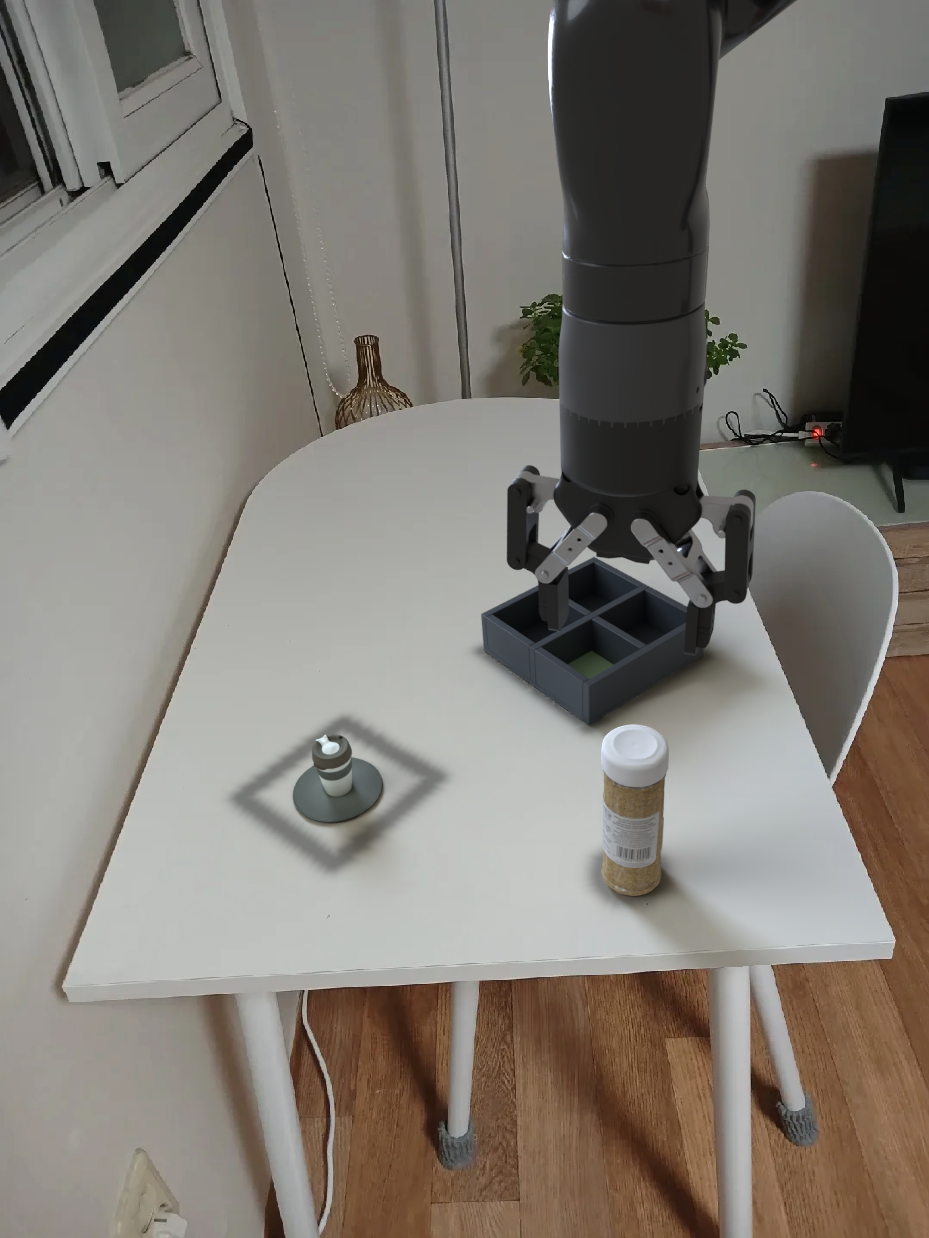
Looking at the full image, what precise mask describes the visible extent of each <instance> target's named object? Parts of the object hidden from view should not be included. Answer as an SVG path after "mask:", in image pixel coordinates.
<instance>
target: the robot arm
mask: <svg viewBox="0 0 929 1238" xmlns="http://www.w3.org/2000/svg"><path fill="white" fill-rule="evenodd" d="M797 1H798V0H552V3H551V7H550V11H549V12H550V13H549V21H548V33H547V71H548V72H547V73H548V74H547V75H548V89H549V90H548V91H549V102H550V112H551V120H552V121H551V123H552V129H553V130H552V131H553V136H554V145H555V153H556V163H557V168H558V174H559V175H558V176H559V180H560V181H559V182H560V187H561V192H562V202H563V203H562V205H563V211H562V226H561V227H562V229H561V275H562V276H561V278H562V279H561V282H562V283H561V285H562V286H561V287H562V288H561V289H562V313H561V314H562V315H561V326H560V333H559V342H558V390H559V391H558V392H559V393H558V396H559V397H558V398H559V401H558V402H559V439H560V441H559V442H560V443H559V447H560V448H559V449H560V452H559V453H560V471H561V473H560V477H559V478H557V477H551V476H544V475H541V473H540V471H539V468H537V467H536V466H534V465H529V464H528V465H525V466H523V467H522V468H521V469H520V471H519V472H518V474H517V475H516V476H515V478H514V479H513V480H512V481H511V483H510V484H509V486H508V487H507V488H506V489H507V492H506V563H507V565H508V566H509V567H510V568H511V570H515V571H521V570H523V569H524V570H526V571H528V572H530V573H531V574H533V575H534V576H535V578H536V580H537V585H538V594H539V614H540V616H541V618H542V620H543V621H548V629H549V630H553V631H559V632H560V631H561V629H562V627H563V625H564V624H565V622H566V620H567V617H568V613H569V589H568V570H569V566H570V565H571V564H572V563H573V562H574V561H575V560H576V559H577V558H578V557H579V556H580V555H581V554H582V553H583V552H584V550H586V548H587V549H589V550H590V551H591V552H593V553H595V556H596V557H595V558H600V559H601V558H602V559H619V558H620V559H621V558H622V559H626V560H628V561H631V562H633V563H638V564H644V565H650V562H651V561H656V563H657V564H658V566H660V568H661V569H662V571H663V572H664V573H665V574H666V576H667V577H668V579H669V580H670V581H671V582H676V583H677V584H678V585H679V586H680V588H681V589H682V590H683V592H684V593H685V594H686V595H687V597H688V599H689V600H688V603H687V605H686V606H687V614H686V628H685V642H684V654H689V655H694V656H696V654H697V651H698V648H704V649H706V648H707V647H708V645H709V643H710V641H711V639H712V636H713V632H714V628H715V620H716V619H715V617H716V607H717V604H718V603H720V602H726V601H727V602H729V603H730V604H734V605H738V604H742V603H744V601H745V600H746V598H747V595H748V588H749V585H750V582H751V581H752V578H753V573H754V553H755V551H754V550H755V549H754V548H755V527H756V506H757V505H756V504H757V503H756V502H757V499H756V498H757V497H756V495H755V494H754V492H752V491H751V490H749V489H739V490H737V491H736V492H735V493H734V495H733V496H732V497H731V496H721V495H720V496H718V495H705V493H704V491H703V490H702V487H701V485H700V482H699V463H700V449H701V438H702V437H701V436H702V423H703V408H704V395H705V387H706V385H707V382H708V365H707V355H708V354H707V352H708V350H707V349H708V340H707V339H708V338H707V327H706V325H707V324H706V296H707V295H706V293H707V280H708V278H707V277H708V267H709V266H708V265H709V251H710V225H711V224H710V200H709V199H710V198H709V194H708V193H709V192H708V189H707V187H706V185H707V184H706V183H707V182H706V181H707V174H708V166H709V157H710V149H711V139H712V129H713V122H714V121H713V120H714V111H715V110H714V109H715V101H716V90H717V82H718V81H717V80H718V73H719V72H718V71H719V61H720V60H722V59H723V58H724V57H725V56H726V55H727V54H729V53H730V52H731V51H733V50H734V49H735V48H736V47H737V46H739V45H741V44H742V43H743V42H744V41H746V40H747V39H748V38H750V37H751V36H752V35H754V34H755V33H756V32H758V31H759V30H760V29H762V28H763V27H764V26H765V25H767V24H768V23H769V22H770V21H772V20H774V19H775V18H776V17H778V16H779V15H780V14H781V13H782V12H784V11H785V10H786V9H788V8H789V7H790V6H792V5H793V4H795V2H797ZM550 500H553V501H554V504H555V506H556V508H557V509H558V511H559V512H560V513H561V514H562V516H563V517H564V519H565V520H566V521H567V523H568V524H569V526H568V527H567V528H566V529H565V530H564V532H563V533H562V534H561V535H560V536H559V538H557V539H556V541H555V542H554V543H553V544H552V545H551V546H550V547H548V546H546V545H544V544H541V543H539V526H540V513H541V512H543V510H544V508H545V507H546V505H547V504H548V502H549V501H550ZM701 519H704V520H708V521H709V522H710V524H711V526H712V531H713V533H714V534H715V535H716V536H717V537H718V538H719V539H724V569H723V570H717V568H716V567H715V566H714V565H713V563H712V562H711V561H710V559H709V558H708V556H707V555H706V554H705V552H704V549H703V544H702V542H701V540H700V539H699V537H698V536H697V535H696V533H695V532H694V531H693V528H694V527H695V526H696V525H697V524H698V523H699V521H700V520H701Z"/></svg>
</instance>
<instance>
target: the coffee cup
mask: <svg viewBox="0 0 929 1238" xmlns="http://www.w3.org/2000/svg"><path fill="white" fill-rule="evenodd" d="M352 755H353V750H352V746H351V744H350V742H349V740H348V739H347V738H346V737H345V736H344V735H341V734H324V735H323V736H322V737H321V738H318V739H317V738H316V739H315V742H314V743H313V745H312V748H311V759H312V762H313V763H312V764H313V765H312V766H311V767H309V768H308V769H306V770H305V771H304V772H303V773H302V774H301V775H300V776H299V777H298V779H297V780H296V782H295V784H294V786H293V790H292V801H293V804H294V806H295V808H296V810H297V811H298V812H299V813H300V814H302V815H303V816H304V817H306V818H308V819H310V820H313V821H317V822H323V823H336V822H341V821H342V822H343V821H347V820H350V819H353V818H355V817H357V816H359V815H361V814H363V813H365V812H366V811H367V810H368V809H370V808H372V806H373V805H374V804H375V803H376V802H377V800H378V798H379V796H380V794H381V792H382V789H383V779H382V776H381V773H380V772H379V770H378V769H377V767H375V766H374V765H373V764H372V763H370V762H368V761H367V760H364V759H361V758H359V757H352Z"/></svg>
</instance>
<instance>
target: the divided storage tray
mask: <svg viewBox="0 0 929 1238" xmlns="http://www.w3.org/2000/svg"><path fill="white" fill-rule="evenodd" d="M568 589H569V613H568V617H567V620H566V622H565V624H564V625H563V627H562V629H561V631H560V632H559V631H553V630H549V629H548V621H543V620H542V618H541V616H540V614H539V594H538V584H537V585H535V586H533V587H531V588H530V589H527V590H526V591H524V592H522V593H519V594H518V595H516V596H514V597H512V598H510V599H508V600H505V601H504V602H502V603H500V604H498V605H495V606H494V607H492V608H490V609H488V610H486V611H484V612H482V613H480V617H481V618H480V619H481V620H480V621H481V631H482V643H483V651H484V652H485V653H486V654H488V655H489V656H490V657H491V658H493V659H494V660H496V661H498V662H499V663H500V664H502V665H503V666H505V667H506V668H507V669H509V670H510V671H511V672H513V673H514V674H516V675H517V676H519V677H520V678H522V679H523V680H524V681H525V682H527V683H528V684H530V685H531V686H533V687H534V688H535V689H537V690H538V691H539V692H541V693H542V694H544V695H545V696H546V697H548V698H550V700H552V701H554V702H555V703H557V704H558V705H559V706H560V707H562V708H563V709H565V710H566V711H568V712H569V713H570V714H572V715H573V716H575V717H576V718H577V719H579V720H580V721H582V722H583V723H585V724H586V725H588V726H592V724H594V723H595V722H597V721H599V720H601V719H602V718H604V717H605V716H607V715H608V714H610V713H612V712H614V711H615V710H617V709H619V708H620V707H622V706H623V705H625V704H626V703H628V702H630V701H631V700H633V699H635V698H636V697H638V696H639V695H641V694H643V693H644V692H646V691H648V690H649V689H651V688H652V687H655V686H656V685H657V684H659V683H660V682H663V681H664V680H665V679H666V678H669V677H670V676H672V675H674V674H675V673H676V672H678V671H680V670H681V669H683V668H685V667H686V666H688V665H690V664H691V663H694V661H696V660H698V659H699V658H701V657H702V656H704V650H705V648H698V651H697V654H696V656H694V655H689V654H684V642H685V628H686V614H687V605H685V604H683V603H681V602H679V601H677V600H675V598H672V597H670V596H668V595H667V594H664V593H663V592H660V591H658V590H657V589H656V588H653V587H651V586H650V585H647V584H646V583H644V582H642V581H640V580H638V579H637V578H635V577H633V576H631V575H629V574H627V573H626V572H624V571H621V570H619V568H616V567H615V566H613V565H611V564H609V563H607V562H605V561H603V560H602V559H599V558H598V557H595V556H592V557H591V558H589V559H587V560H585V561H583V562H580V563H579V564H577V565H575V566H573V567H571V568H568Z"/></svg>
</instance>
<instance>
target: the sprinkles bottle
mask: <svg viewBox="0 0 929 1238" xmlns="http://www.w3.org/2000/svg"><path fill="white" fill-rule="evenodd" d="M669 748H670V746H669V744H668V740H666V738H665V737H664V735H663V734H662V733H660V732H659V731H658V730H656V729H654V728H653V727H650V726H646V725H643V724H624V725H621V726H618V727H616V728H613V729H611V730H610V731H609V732H608V733H607V734H606V735H605V736H604V738H603V740H602V743H601V750H600V754H601V755H600V758H601V759H600V764H601V768H602V772H603V791H602V832H601V833H602V835H601V836H602V838H601V839H602V843H601V844H602V864H601V876H602V879H603V881H604V883H605V884H606V885H607V886H608V887H609V888H610V889H611V890H613V891H614V892H616V893H617V894H621V895H623V896H630V897H637V896H643V895H646V894H649V893H650V892H652V891H653V890H654V889H655V888H657V886H658V885H659V884H660V881H661V878H662V866H661V858H662V850H663V843H664V827H665V826H664V825H665V821H664V820H665V817H664V811H665V787H666V786H665V784H666V776H667V773H668V770H669V764H670V749H669Z"/></svg>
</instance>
